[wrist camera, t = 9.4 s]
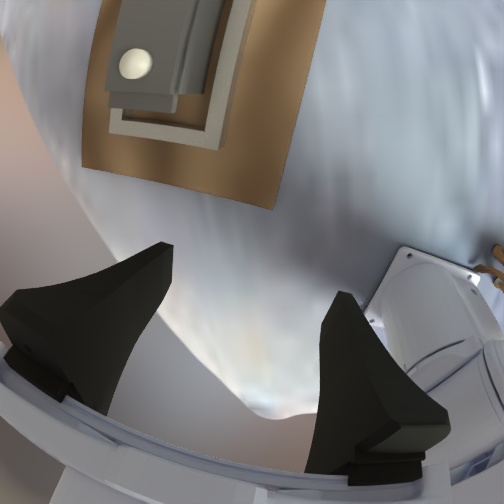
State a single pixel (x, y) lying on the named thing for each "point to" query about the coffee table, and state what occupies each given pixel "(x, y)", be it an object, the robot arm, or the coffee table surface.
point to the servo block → (161, 52)
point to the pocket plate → (212, 106)
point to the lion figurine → (503, 279)
